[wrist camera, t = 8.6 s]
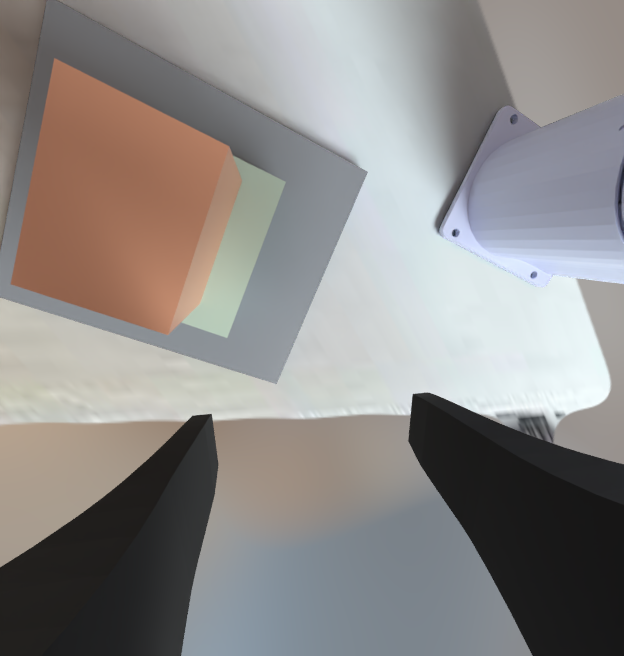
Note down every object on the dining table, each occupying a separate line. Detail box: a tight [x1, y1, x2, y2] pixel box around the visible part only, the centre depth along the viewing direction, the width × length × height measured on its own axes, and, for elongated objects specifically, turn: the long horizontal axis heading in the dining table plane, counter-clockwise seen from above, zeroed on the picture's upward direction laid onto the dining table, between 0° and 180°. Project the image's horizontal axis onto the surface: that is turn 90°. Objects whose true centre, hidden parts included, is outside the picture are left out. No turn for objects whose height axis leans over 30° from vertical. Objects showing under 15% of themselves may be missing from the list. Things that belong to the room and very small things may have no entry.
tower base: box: [0, 0, 368, 384], centre depth 15 cm, size 16×14×4 cm
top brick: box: [11, 58, 242, 335], centre depth 11 cm, size 4×6×5 cm
